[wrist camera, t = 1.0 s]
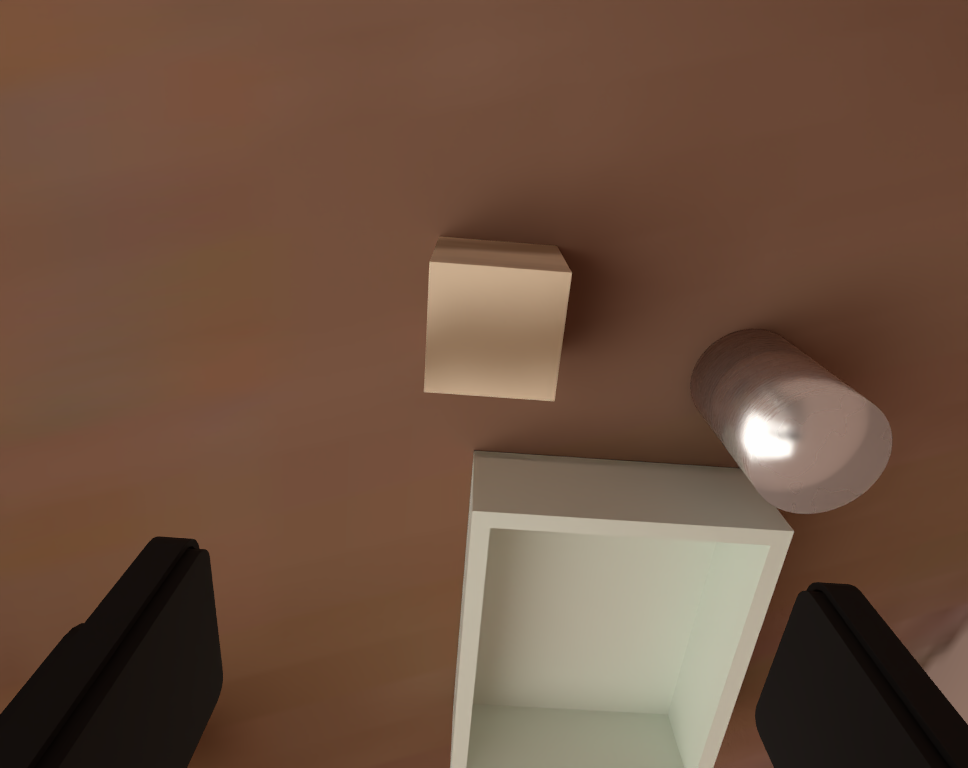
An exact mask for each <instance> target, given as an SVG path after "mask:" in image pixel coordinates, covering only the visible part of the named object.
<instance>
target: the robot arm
mask: <svg viewBox="0 0 968 768" xmlns="http://www.w3.org/2000/svg"><path fill="white" fill-rule="evenodd" d="M222 682H223V670H222V661H221V652H220V643H219V635H218V626H217V617H216V608H215V599H214V591H213V582H212V573H211V564H210V556H209V553H208V551H207V550H205V549H199V545H198V543H197V541H196V540H194V539H186V538H172V537H155V538H153V539H152V540H151V541H150V542H149V543H148V544H147V545H146V546H145V548H144V549H143V550H142V551H141V553H140V554H139V555H138V557H137V558H136V559H135V560H134V562H133V563H132V564H131V565H130V567H129V568H128V569H127V570H126V572H125V573H124V574H123V575H122V577H121V578H120V579H119V580H118V582H117V583H116V584H115V585H114V587H113V588H112V589H111V590H110V592H109V593H108V594H107V595H106V597H105V598H104V599H103V600H102V602H101V603H100V604H99V605H98V607H97V608H96V609H95V610H94V612H93V613H92V614H91V615H90V617H89V618H88V619H87V621H86V622H85V623H81V624H79V625H77V626H76V627H74V628H72V629H71V630H70V631H69V632H68V633H67V634H66V635H65V636H64V637H63V638H62V640H61V641H60V642H59V643H58V645H57V646H56V647H55V648H54V649H53V651H52V652H51V653H50V654H49V656H48V657H47V658H46V659H45V660H44V662H43V663H42V664H41V665H40V667H39V668H38V669H37V670H36V671H35V673H34V674H33V675H32V676H31V678H30V679H29V680H28V681H27V683H26V684H25V685H24V686H23V687H22V689H21V690H20V691H19V692H18V694H17V695H16V696H15V697H14V698H13V700H12V701H11V702H10V703H9V705H8V706H7V707H6V708H5V709H4V711H3V712H2V713H1V714H0V768H187V766H188V764H189V762H190V760H191V757H192V755H193V753H194V751H195V749H196V747H197V744H198V742H199V740H200V738H201V736H202V734H203V731H204V729H205V727H206V725H207V723H208V721H209V718H210V716H211V714H212V712H213V710H214V707H215V705H216V703H217V701H218V698H219V695H220V692H221V688H222ZM755 719H756V726H757V730H758V732H759V735H760V737H761V740H762V742H763V744H764V746H765V748H766V751H767V753H768V755H769V757H770V760H771V762H772V764H773V766H774V768H968V725H967V723H966V722H965V721H964V720H963V718H962V717H961V716H960V715H959V714H958V712H957V711H956V710H955V709H954V707H953V706H952V705H951V704H950V702H949V701H948V700H947V698H946V697H945V696H944V695H943V694H942V692H941V691H940V690H939V689H938V687H937V686H936V685H935V684H934V682H933V681H932V680H931V679H930V677H929V676H928V675H927V674H926V672H925V671H924V670H923V669H922V667H921V666H920V665H919V664H918V662H917V661H916V660H915V659H914V657H913V656H912V655H911V654H910V652H909V651H908V650H907V649H906V647H905V646H904V645H903V644H902V642H901V641H900V640H899V639H898V637H897V636H896V635H895V634H894V632H893V631H892V630H891V629H890V627H889V626H888V625H887V624H886V622H885V621H884V620H883V619H882V618H881V616H880V615H879V614H878V613H877V611H876V610H875V609H874V608H873V606H872V605H871V604H870V603H869V601H868V600H867V599H866V598H865V596H864V595H863V594H862V593H861V591H860V590H858V589H857V588H856V587H855V586H852V585H850V584H835V583H821V582H816V583H812V584H811V585H810V586H809V587H808V589H807V591H802V592H800V593H799V594H798V596H797V598H796V601H795V604H794V607H793V609H792V612H791V615H790V617H789V620H788V623H787V625H786V628H785V631H784V633H783V636H782V639H781V642H780V644H779V647H778V650H777V652H776V655H775V658H774V660H773V663H772V666H771V668H770V671H769V674H768V677H767V679H766V682H765V685H764V687H763V690H762V693H761V695H760V698H759V701H758V704H757V706H756V711H755Z"/></svg>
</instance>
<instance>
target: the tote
mask: <svg viewBox="0 0 968 768" xmlns="http://www.w3.org/2000/svg"><path fill="white" fill-rule="evenodd" d="M793 533H794V530H793V529H792V528H791V526H790V525H789V524H788V523H787V521H786V520H785V519H784V517H783V516H782V515H781V513H780V512H779V511H778V509H777V508H776V507H775V506H773V505H771V504H770V503H769V502H767V501H766V500H765V499H764V498H763V497H762V496H761V495H760V494H759V493H758V491H757V490H756V488H755V487H754V486H753V484H752V483H751V482H750V480H749V479H748V478H747V476H746V475H745V473H744V472H743V471H742V469H741V468H727V467H712V466H697V465H682V464H668V463H653V462H638V461H623V460H608V459H593V458H578V457H563V456H548V455H533V454H518V453H503V452H488V451H474V457H473V469H472V482H471V494H470V506H469V519H468V531H467V543H466V556H465V568H464V580H463V593H462V605H461V617H460V630H459V642H458V654H457V667H456V679H455V691H454V704H453V723H452V743H451V763H450V768H713V767H714V764H715V761H716V758H717V755H718V752H719V749H720V746H721V743H722V740H723V738H724V735H725V732H726V729H727V726H728V723H729V720H730V717H731V714H732V711H733V708H734V705H735V703H736V700H737V697H738V694H739V691H740V688H741V685H742V682H743V679H744V676H745V673H746V670H747V668H748V665H749V662H750V659H751V656H752V653H753V650H754V647H755V644H756V641H757V638H758V635H759V633H760V630H761V627H762V624H763V621H764V618H765V615H766V612H767V609H768V606H769V603H770V600H771V598H772V595H773V592H774V589H775V586H776V583H777V580H778V577H779V574H780V571H781V568H782V565H783V563H784V560H785V557H786V554H787V551H788V548H789V545H790V542H791V539H792V536H793Z"/></svg>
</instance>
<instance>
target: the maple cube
mask: <svg viewBox="0 0 968 768" xmlns="http://www.w3.org/2000/svg"><path fill="white" fill-rule="evenodd" d="M571 277H572V272H571V270H570V268H569V266H568V265H567V263H566V261H565V259H564V258H563V256H562V254H561V252H560V251H559V249H558V247H557V246H555V245H542V244H529V243H517V242H504V241H491V240H479V239H466V238H453V237H441V236H439V238H438V241H437V244H436V246H435V249H434V251H433V254H432V257H431V259H430V264H429V288H428V311H427V335H426V358H425V381H424V392H432V393H446V394H460V395H474V396H488V397H502V398H516V399H530V400H544V401H554V400H555V393H556V385H557V378H558V371H559V364H560V356H561V349H562V342H563V335H564V327H565V320H566V313H567V306H568V298H569V291H570V284H571Z"/></svg>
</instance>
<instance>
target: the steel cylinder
mask: <svg viewBox="0 0 968 768" xmlns="http://www.w3.org/2000/svg"><path fill="white" fill-rule="evenodd" d="M690 390H691V396H692V400H693V402H694V404H695V406H696V408H697V409H698V411H699V412H700V414H701V415H702V416H703V418H704V419H705V420H706V422H707V423H708V425H709V426H710V427H711V429H712V430H713V431H714V433H715V434H716V435H717V437H718V438H719V439H720V441H721V442H722V444H723V445H724V446H725V448H726V449H727V450H728V452H729V453H730V454H731V456H732V457H733V459H734V460H735V461H736V463H737V464H738V465H739V467H740V468H741V469H742V471H743V472H744V473H745V475H746V476H747V478H748V479H749V480H750V482H751V483H752V484H753V486H754V487H755V488H756V490H757V491H758V493H759V494H760V495H761V496H762V497H763V498H764V499H765V500H766V501H767V502H769V503H770V504H771V505H773V506H775V507H777V508H779V509H781V510H784V511H788V512H792V513H799V514H813V513H821V512H826V511H830V510H833V509H836V508H839V507H841V506H843V505H846V504H847V503H849V502H851V501H853V500H855V499H856V498H858V497H859V496H861V495H862V494H863V493H864V492H865V491H867V490H868V489H869V488H870V487H871V486H872V485H873V484H874V483H875V482H876V480H877V479H878V478H879V477H880V475H881V474H882V472H883V470H884V469H885V467H886V465H887V463H888V460H889V457H890V454H891V449H892V432H891V428H890V425H889V422H888V420H887V418H886V417H885V415H884V414H883V413H882V411H881V410H880V409H879V408H878V407H877V406H875V405H874V404H873V403H872V402H870V401H869V400H867V399H866V398H865V397H863V396H862V395H861V394H859V393H858V392H856V391H855V390H854V389H852V388H851V387H850V386H848V385H847V384H846V383H844V382H843V381H841V380H840V379H839V378H837V377H836V376H835V375H833V374H832V373H831V372H829V371H828V370H826V369H825V368H824V367H822V366H821V365H820V364H818V363H817V362H815V361H814V360H813V359H811V358H810V357H809V356H807V355H806V354H805V353H803V352H802V351H800V350H799V349H798V348H796V347H795V346H794V345H792V344H791V343H790V342H788V341H787V340H785V339H784V338H783V337H781V336H779V335H778V334H776V333H773V332H771V331H767V330H762V329H746V330H740V331H736V332H733V333H730V334H728V335H726V336H724V337H722V338H720V339H719V340H717V341H716V342H714V343H713V344H712V345H711V346H710V347H709V348H708V349H707V350H706V351H705V352H704V353H703V354H702V355H701V357H700V358H699V360H698V361H697V363H696V365H695V367H694V370H693V373H692V376H691V383H690Z"/></svg>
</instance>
